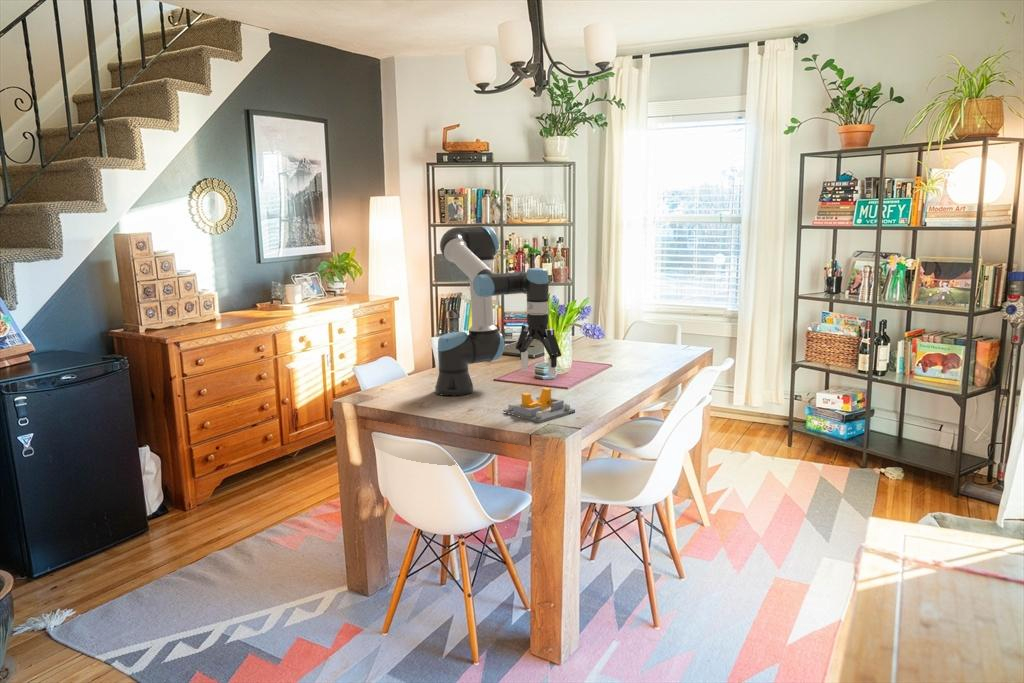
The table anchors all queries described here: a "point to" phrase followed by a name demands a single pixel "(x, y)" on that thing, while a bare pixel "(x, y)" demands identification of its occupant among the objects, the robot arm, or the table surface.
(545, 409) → the chassis
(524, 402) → the orange bracket
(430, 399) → the table surface
